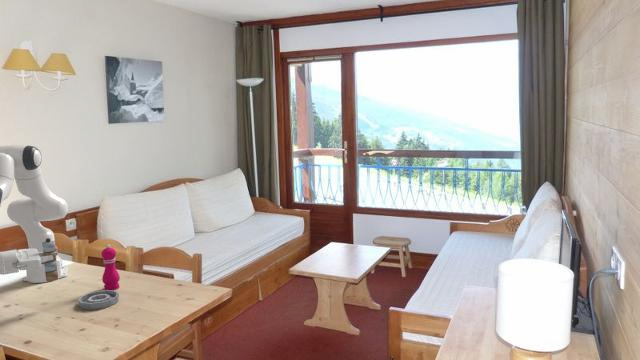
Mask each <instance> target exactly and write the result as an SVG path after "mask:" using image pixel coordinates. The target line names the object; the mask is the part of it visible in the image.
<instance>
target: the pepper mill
mask: <svg viewBox="0 0 640 360" xmlns="http://www.w3.org/2000/svg"><path fill="white" fill-rule="evenodd" d="M116 256H117V251H116V249H115V248H114V247H111V245H110V244H106V246H105V248H104V249H103V250H102V251H101V257H102V258H103V260H102V261H103V264H104V272H103V274H102V279H101V280H102V283H103V284H104V286H103V290H112V291H116V290H117V289H119V288H120V282H119V281H121V280H120V278H121V276H120V274H119V271H118V270H117V268H116V263H115V262H116Z"/></svg>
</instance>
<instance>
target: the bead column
mask: <svg viewBox="0 0 640 360" xmlns="http://www.w3.org/2000/svg"><path fill="white" fill-rule="evenodd" d="M55 241H56V240H55ZM55 241H51V239H50V238H47V239H46V241H45V242H42V246H43V255H44V256H48V255H53V260H49V261H46V262H44V265H45V274H46V281H49V282H53V281H54V282H55V281H57V280H59V279H58V270H57V260H56V251H55V246H56V242H55Z"/></svg>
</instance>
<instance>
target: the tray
mask: <svg viewBox="0 0 640 360" xmlns="http://www.w3.org/2000/svg"><path fill="white" fill-rule="evenodd" d="M119 300H120V292H118V291H116V290H105V289H103V290H97V291H92V292H89V293H86V294H83V295H82V296H80V297H79V298H78V299H77V303H78V305H79V308H80V309H82V310H86V311H91V310H93V311H94V310H100V309H105V308H109V307H111V306H114V305H116V304H117V303H118V302H119Z"/></svg>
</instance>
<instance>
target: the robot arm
mask: <svg viewBox="0 0 640 360" xmlns="http://www.w3.org/2000/svg"><path fill="white" fill-rule="evenodd" d="M41 164H42V153H41V151H40V149H38V147H36V146H34V145H20V144H19V145H18V144H12V145H0V207H1V206H2V204H3V202H4V201H5V200H7V199H8V198H9V196H10V194H11V192H12V189H13V185H14V181H15V184H16V187H17V191H18V192H19V193H20V194H21V195H22V196H25V197H27V198H21V199H16V200H12V201H11V202H10V203H9V204H8V206H7V208H6V213H7V216H8V219H9V220H11V221H12V222H14V223H15V224H17V225H18V226H19V227H20V228H21V229H22V230H23V232H24V233H25V236H26V241H27V245H28V248H22V249H16V248H12V249H9V250H6V251H0V275H3V276H4V275H9V274H16V273H19V271H26V276H25V277H23V281H24V282H28V283H32V284H40V283H48V282H50V281H46V274H45V265H44V262H46V261H49V260H53V255H48V256H44V255H43V246H42V242H45V241H46V239H47V238H50V239H51V241H56V239H55V233H54V232H53V230H51V229H50V228H48V227H45V226H44V225H42V223H41V222H47V221H48V222H49V221H51V222H52V221H56V220H57V221H58V220H61V219H64V218H65V217H66V216H67V214H68V212H69V204H68V202H67V201H66V200H65V199H64V198H63V197H60V196H58V195H57V194H55V193H54V192H52V191H51V190H50V188H49V187H48V186H47V184H46V181H45V178H44V175H43V171H42V169H41V168H42V167H41ZM55 251H56V260H57V270H58V279H57V280H59V279H62V278H66V277H67V276H68V272H69V268H68V266H64V265H63V259H62V258H61V257H60V256H59V255H58V254H59V253H58V246H57V245H55Z"/></svg>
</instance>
